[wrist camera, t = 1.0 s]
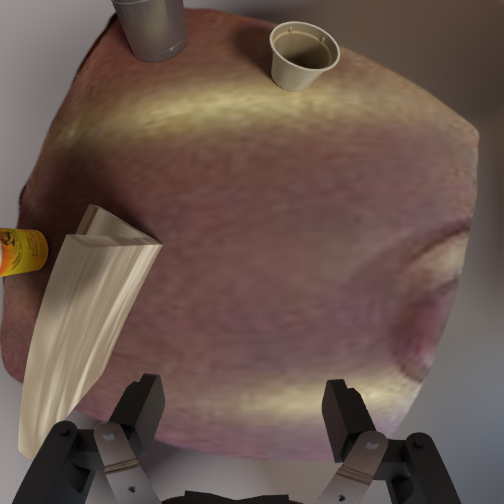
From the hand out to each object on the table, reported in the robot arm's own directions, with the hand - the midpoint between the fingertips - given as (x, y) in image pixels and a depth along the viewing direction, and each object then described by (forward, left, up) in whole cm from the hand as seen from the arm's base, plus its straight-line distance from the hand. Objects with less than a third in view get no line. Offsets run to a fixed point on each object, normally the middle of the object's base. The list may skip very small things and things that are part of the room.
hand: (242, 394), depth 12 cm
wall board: (-11, -15, -25) cm, 31 cm away
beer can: (-22, -21, -25) cm, 39 cm away
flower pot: (-21, +26, -25) cm, 42 cm away
